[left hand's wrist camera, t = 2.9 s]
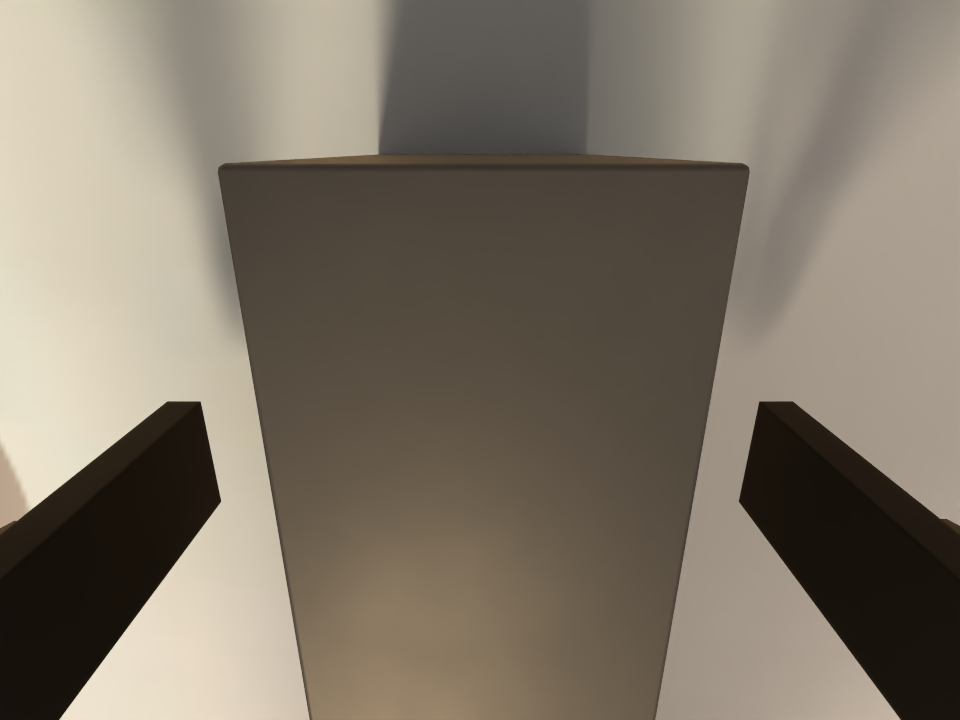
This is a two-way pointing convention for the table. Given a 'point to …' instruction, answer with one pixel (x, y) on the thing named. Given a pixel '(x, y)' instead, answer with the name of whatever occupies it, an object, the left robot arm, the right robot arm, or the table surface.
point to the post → (483, 418)
